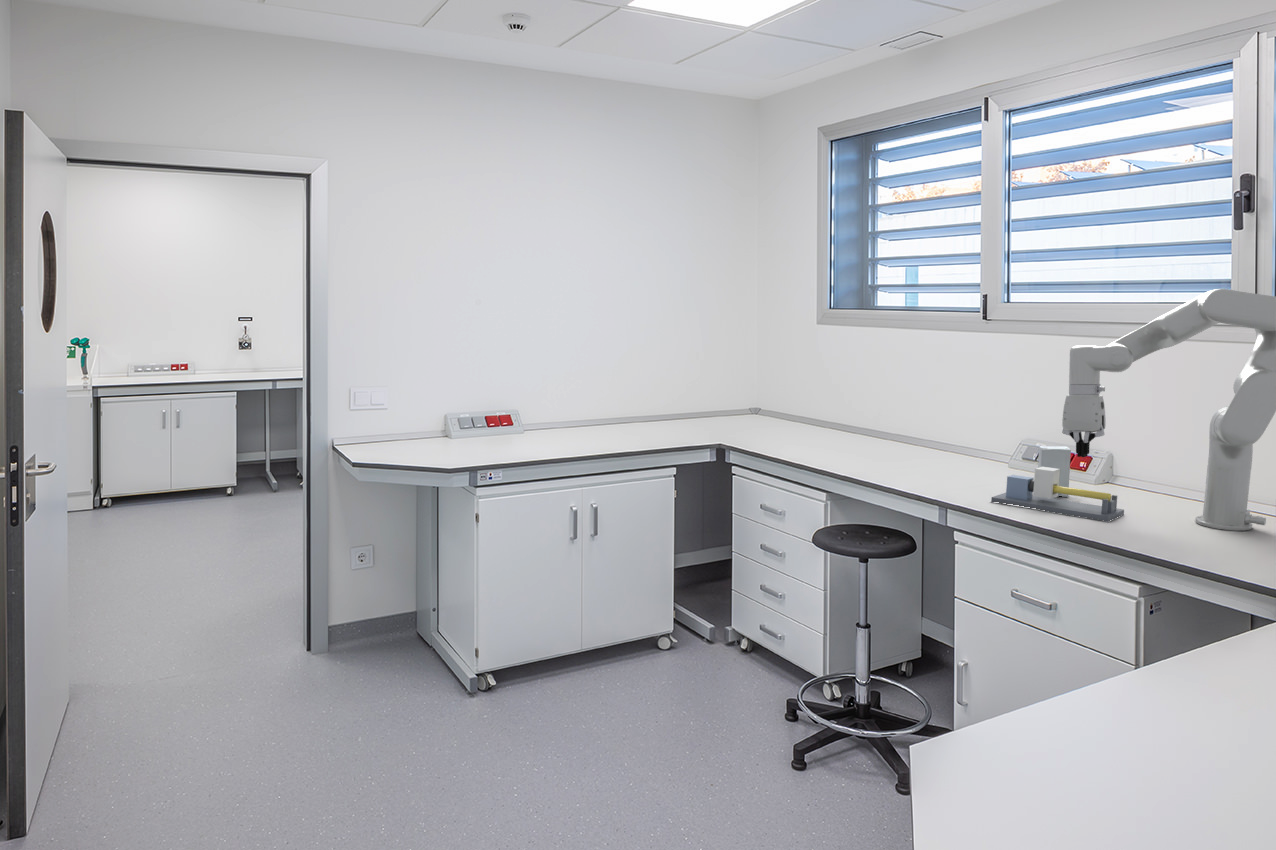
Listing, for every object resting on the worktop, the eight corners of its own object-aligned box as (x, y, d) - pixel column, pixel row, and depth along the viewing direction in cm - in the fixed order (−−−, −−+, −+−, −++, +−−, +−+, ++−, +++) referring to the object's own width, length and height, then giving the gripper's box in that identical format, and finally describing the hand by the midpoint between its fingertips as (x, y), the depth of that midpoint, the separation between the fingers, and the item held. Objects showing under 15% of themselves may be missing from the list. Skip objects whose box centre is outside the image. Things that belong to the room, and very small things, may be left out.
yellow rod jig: (1123, 514, 245) (1126, 488, 244) (1108, 522, 237) (1110, 494, 236) (1008, 496, 268) (1010, 471, 267) (991, 502, 260) (992, 477, 259)
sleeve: (1057, 496, 254) (1059, 468, 253) (1050, 499, 251) (1053, 471, 250) (1040, 493, 258) (1042, 466, 257) (1033, 496, 254) (1034, 468, 253)
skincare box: (1064, 493, 273) (1068, 446, 271) (1068, 498, 267) (1072, 449, 265) (1035, 492, 275) (1038, 444, 273) (1038, 496, 269) (1042, 447, 267)
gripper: (1118, 390, 242) (1116, 456, 244) (1061, 388, 252) (1059, 452, 254) (1108, 392, 236) (1106, 460, 239) (1050, 390, 247) (1049, 455, 249)
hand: (1082, 456), depth 247 cm, fingers closed
